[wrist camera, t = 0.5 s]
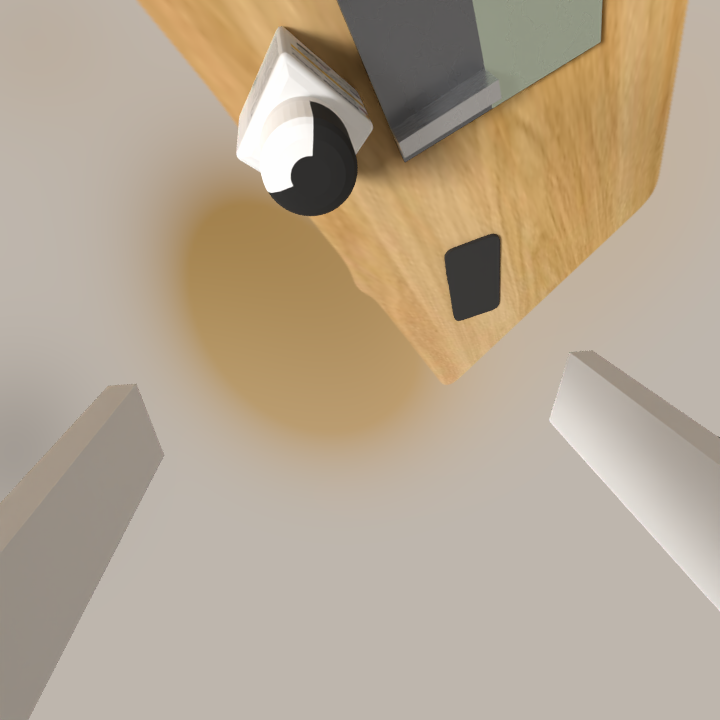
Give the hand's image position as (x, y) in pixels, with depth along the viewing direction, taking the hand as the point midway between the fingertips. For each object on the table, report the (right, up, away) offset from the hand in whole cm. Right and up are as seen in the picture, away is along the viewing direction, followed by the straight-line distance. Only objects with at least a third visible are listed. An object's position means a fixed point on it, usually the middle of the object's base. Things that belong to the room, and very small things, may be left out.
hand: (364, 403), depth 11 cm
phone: (+16, +13, +42) cm, 47 cm away
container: (-6, +24, +20) cm, 32 cm away
